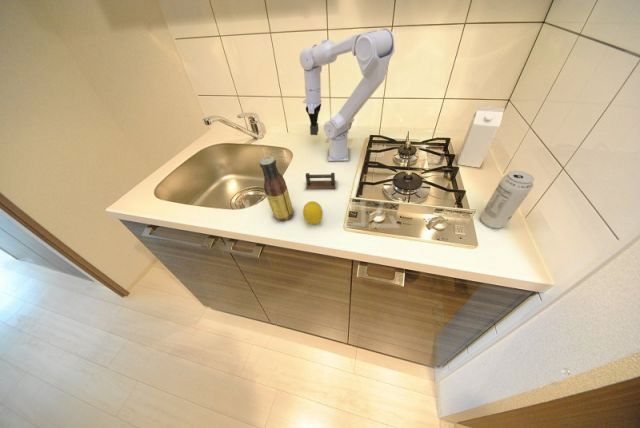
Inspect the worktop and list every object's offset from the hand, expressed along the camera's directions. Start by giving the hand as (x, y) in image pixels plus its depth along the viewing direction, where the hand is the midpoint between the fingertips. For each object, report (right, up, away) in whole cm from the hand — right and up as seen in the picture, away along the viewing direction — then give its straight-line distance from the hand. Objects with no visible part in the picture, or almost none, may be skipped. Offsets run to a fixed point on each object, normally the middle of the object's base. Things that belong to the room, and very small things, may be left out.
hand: (314, 123), depth 93 cm
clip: (0, -3, +3) cm, 4 cm away
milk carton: (+57, -18, -10) cm, 61 cm away
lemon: (+1, -40, -26) cm, 48 cm away
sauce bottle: (-9, -38, -23) cm, 45 cm away
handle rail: (+3, -27, -13) cm, 30 cm away
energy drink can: (+49, -40, -31) cm, 71 cm away
